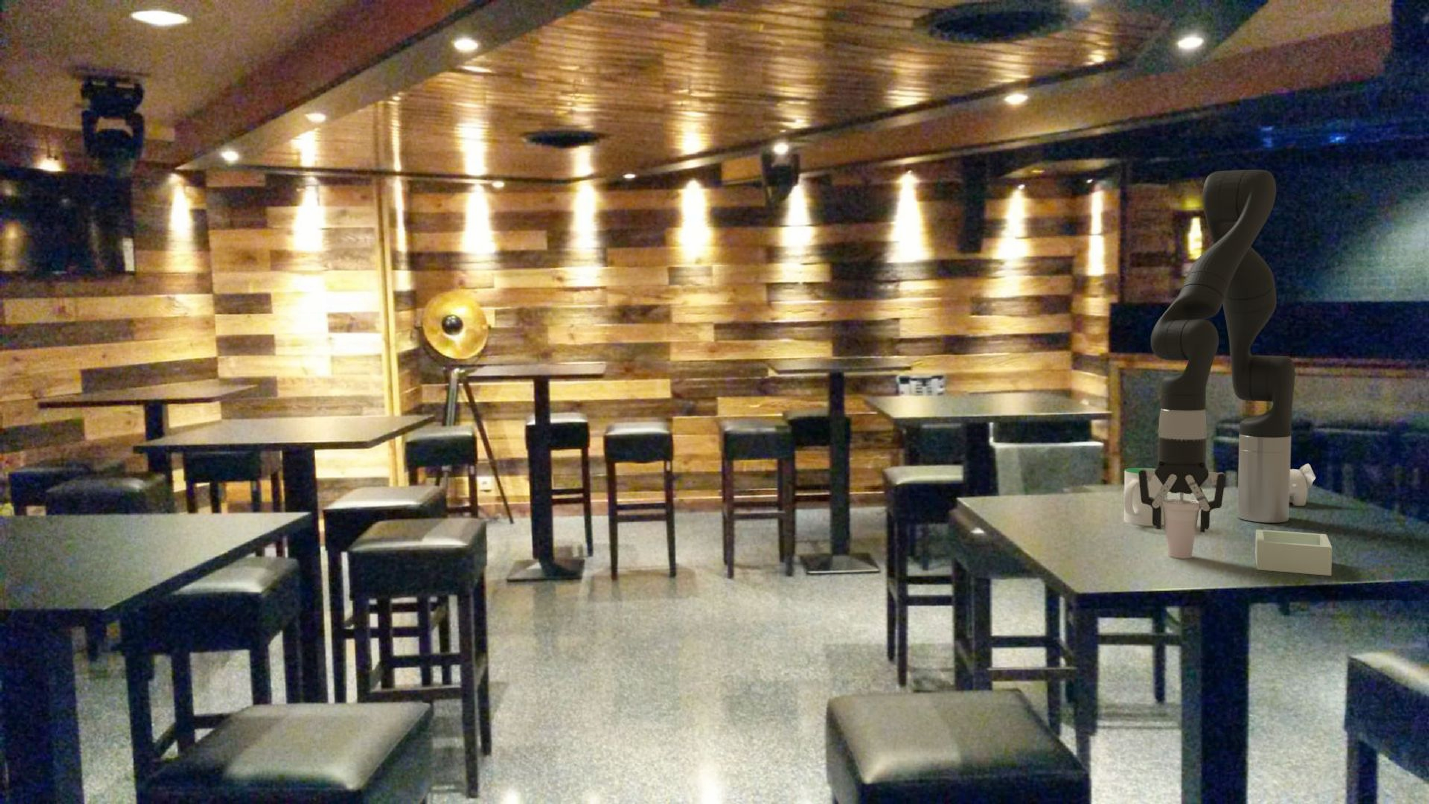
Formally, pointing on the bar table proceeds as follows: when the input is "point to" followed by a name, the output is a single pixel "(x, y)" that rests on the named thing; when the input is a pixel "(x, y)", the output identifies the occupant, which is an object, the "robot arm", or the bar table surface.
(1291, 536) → the bin
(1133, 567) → the bar table surface
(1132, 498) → the mug
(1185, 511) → the smoothie
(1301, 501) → the elephant figurine
